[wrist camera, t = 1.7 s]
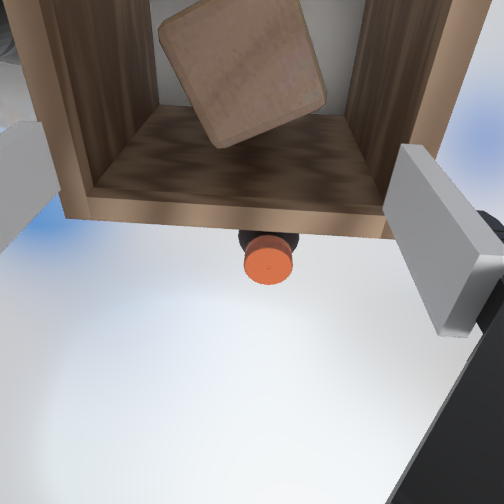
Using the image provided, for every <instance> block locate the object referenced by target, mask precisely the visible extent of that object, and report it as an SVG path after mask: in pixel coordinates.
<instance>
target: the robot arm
mask: <svg viewBox="0 0 504 504" xmlns="http://www.w3.org/2000/svg"><path fill="white" fill-rule="evenodd" d="M0 61H2V62H7V63H12V64H19V65H21V62H20V58H19V55H18V52H17V48H16V45H15V41H14V38H13V34H12V31H11V27H10V24H9V20H8V17H7V14H6V10H5V7H4V3H3V0H0ZM60 190H61V188H60V185H59V181H58V178H57V174H56V171H55V167H54V164H53V160H52V157H51V153H50V150H49V146H48V143H47V139H46V136H45V132H44V129H43V125H42V122H32V121H20V122H18V123H17V124H15V125H13V126H12V127H10V128H9V129H7V130H5V131H4V132H2V133H1V134H0V254H1V253H2V252H3V251H4V250H5V248H6V247H7V246H8V245H9V244H10V243H11V242H12V241H13V240H14V239H15V238H16V237H17V236H18V235H19V234H20V232H22V230H23V229H24V228H25V227H26V226H27V225H28V224H29V223H30V222H31V221H32V220H33V219H34V218H35V217H36V216H37V214H38V213H39V212H40V211H41V210H42V209H43V208H44V207H45V206H46V205H47V204H48V203H49V202H50V201H51V200H52V199H53V197H54V196H55V195H56V194H57V193H58V192H59V191H60ZM382 210H383V212H384V215H385V217H386V219H387V221H388V224H389V226H390V228H391V230H392V233H393V235H394V237H395V239H396V242H397V244H398V246H399V248H400V250H401V253H402V255H403V257H404V260H405V262H406V264H407V266H408V269H409V271H410V273H411V276H412V278H413V280H414V282H415V285H416V287H417V289H418V291H419V294H420V296H421V298H422V300H423V302H424V305H425V307H426V309H427V312H428V314H429V316H430V318H431V321H432V323H433V325H434V327H435V330H436V332H437V334H438V336H444V337H459V338H467V337H468V335H469V334H470V332H471V330H472V329H473V327H474V325H475V323H476V322H477V324H478V325H479V327H480V329H481V331H482V332H483V335H482V337H481V339H480V340H479V342H478V344H477V345H476V347H475V348H474V350H473V352H472V354H471V355H470V357H469V358H468V360H467V363H466V364H465V366H464V368H463V370H462V371H461V373H460V375H459V377H458V378H457V380H456V382H455V384H454V385H453V387H452V389H451V390H450V392H449V394H448V396H447V398H446V399H445V401H444V403H443V404H442V406H441V408H440V410H439V411H438V413H437V415H436V416H435V418H434V420H433V422H432V423H431V425H430V427H429V429H428V430H427V432H426V434H425V436H424V437H423V439H422V441H421V442H420V444H419V446H418V448H417V449H416V451H415V453H414V455H413V456H412V458H411V460H410V462H409V463H408V465H407V467H406V468H405V470H404V472H403V474H402V475H401V477H400V479H399V481H398V482H397V484H396V486H395V488H394V489H393V491H392V493H391V494H390V496H389V498H388V500H387V502H386V503H385V504H504V226H503V225H502V224H501V223H500V222H499V221H498V220H497V219H496V218H494V217H493V216H491V215H489V214H488V213H486V212H485V211H479V210H478V211H477V210H475V209H474V207H473V206H472V205H471V204H470V203H469V201H468V200H467V199H466V198H465V196H464V195H463V194H462V193H461V191H460V190H459V189H458V188H457V187H456V185H455V184H454V183H453V182H452V180H451V179H450V178H449V177H448V176H447V174H446V173H445V172H444V171H443V170H442V168H441V167H440V166H439V165H438V164H437V162H436V161H435V160H434V159H433V157H432V156H431V155H430V154H429V152H428V151H427V150H426V149H425V148H424V146H423V145H416V144H401V146H400V149H399V153H398V156H397V160H396V163H395V167H394V170H393V174H392V177H391V180H390V184H389V187H388V191H387V194H386V198H385V201H384V205H383V208H382Z"/></svg>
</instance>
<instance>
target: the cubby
mask: <svg viewBox="0 0 504 504" xmlns="http://www.w3.org/2000/svg"><path fill="white" fill-rule="evenodd" d="M491 1H492V0H366V4H365V9H364V15H363V20H362V25H361V30H360V36H359V41H358V46H357V51H356V57H355V62H354V67H353V73H352V78H351V83H350V88H349V94H348V99H347V104H346V109H345V115H344V116H332V115H316V114H307V115H305V116H303V117H300V118H298V119H295V120H293V121H290V122H288V123H286V124H283V125H281V126H278V127H276V128H273V129H271V130H269V131H266V132H264V133H261V134H259V135H256V136H254V137H252V138H249V139H247V140H244V141H242V142H239V143H237V144H235V145H232V146H230V147H227V148H218V149H217V148H216V147H215V146H214V145H213V144H212V143H211V142H210V140H209V138H208V136H207V134H206V132H205V130H204V128H203V126H202V124H201V122H200V120H199V118H198V116H197V114H196V113H195V111H194V109H193V107H186V106H170V105H159V98H158V87H157V77H156V67H155V56H154V46H153V35H152V25H151V15H150V4H149V0H3V3H4V7H5V10H6V14H7V17H8V20H9V24H10V27H11V31H12V34H13V38H14V41H15V45H16V48H17V52H18V55H19V58H20V62H21V65H22V69H23V72H24V76H25V79H26V83H27V86H28V90H29V93H30V97H31V100H32V103H33V107H34V110H35V114H36V117H37V121H38V122H42V125H43V129H44V132H45V136H46V139H47V143H48V146H49V150H50V153H51V157H52V160H53V164H54V167H55V171H56V174H57V178H58V181H59V185H60V188H61V190H60V191H59V192H58V193H59V196H60V200H61V204H62V207H63V211H64V214H65V218H66V219H82V220H98V221H114V222H129V223H145V224H161V225H176V226H193V227H207V228H224V229H238V230H254V231H269V232H285V233H301V234H316V235H332V236H348V237H363V238H379V239H395V237H394V235H393V233H392V230H391V228H390V226H389V224H388V221H387V219H386V217H385V215H384V212H383V210H382V208H383V205H384V201H385V198H386V194H387V191H388V187H389V184H390V180H391V177H392V174H393V170H394V167H395V163H396V160H397V156H398V153H399V149H400V146H401V144H416V145H423V146H424V148H425V149H426V150H427V151H428V152H429V154H430V155H431V156H432V157H433V159H434V160H435V159H436V156H437V153H438V150H439V148H440V144H441V142H442V139H443V136H444V133H445V131H446V128H447V125H448V122H449V120H450V117H451V114H452V111H453V108H454V105H455V102H456V100H457V97H458V94H459V91H460V89H461V86H462V83H463V80H464V77H465V74H466V72H467V69H468V66H469V63H470V60H471V58H472V55H473V52H474V49H475V46H476V44H477V41H478V38H479V35H480V32H481V30H482V27H483V24H484V21H485V18H486V16H487V13H488V10H489V7H490V4H491ZM395 240H396V239H395Z"/></svg>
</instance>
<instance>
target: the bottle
mask: <svg viewBox="0 0 504 504" xmlns="http://www.w3.org/2000/svg"><path fill="white" fill-rule="evenodd" d="M238 237H239V243H240V245H241V247H242V249H243V250H244V252H245V259H244V269H245V272H246V274H247V275H248V276H249V277H250V278H251V279H252V280H253V281H255V282H257V283H260V284H266V285H271V284H277V283H280V282H282V281H284V280H285V279H286V278H287V277H288V276H289V274H290V273H291V271H292V267H293V263H292V252H293V251H294V250H295V248H296V247H297V244H298V241H299V233H285V232H269V231H254V230H239V234H238Z"/></svg>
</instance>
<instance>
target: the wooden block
mask: <svg viewBox="0 0 504 504" xmlns="http://www.w3.org/2000/svg"><path fill="white" fill-rule="evenodd" d="M158 35H159V42H160V44H161V46H162V48H163V50H164V52H165V54H166V56H167V58H168V60H169V62H170V64H171V65H172V67H173V69H174V71H175V73H176V75H177V77H178V79H179V81H180V83H181V85H182V87H183V89H184V91H185V93H186V95H187V97H188V99H189V101H190V103H191V105H192V107H193V109H194V111H195V113H196V114H197V116H198V118H199V120H200V122H201V124H202V126H203V128H204V130H205V132H206V134H207V136H208V138H209V140H210V142H211V143H212V144H213V145H214V146H215V147H216V148H217V149H218V148H227V147H230V146H232V145H235V144H237V143H239V142H242V141H244V140H247V139H249V138H252V137H254V136H256V135H259V134H261V133H264V132H266V131H269V130H271V129H273V128H276V127H278V126H281V125H283V124H286V123H288V122H290V121H293V120H295V119H298V118H300V117H303V116H305V115H307V114H310V113H312V112H315V111H317V110H319V109H320V108H321V107H322V106H323V105H324V104H325V103H326V96H327V91H326V88H325V85H324V81H323V78H322V75H321V72H320V68H319V65H318V62H317V58H316V55H315V52H314V49H313V45H312V42H311V39H310V36H309V32H308V29H307V26H306V22H305V19H304V16H303V13H302V9H301V6H300V3H299V0H201V1H199V2H198V3H196V4H194V5H192V6H190V7H188V8H186V9H185V10H183V11H181V12H179V13H177V14H175V15H173V16H172V17H170V18H168V19H166V20H164V21H163V23H162V24H161V26H160V27H159V28H158Z"/></svg>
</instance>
